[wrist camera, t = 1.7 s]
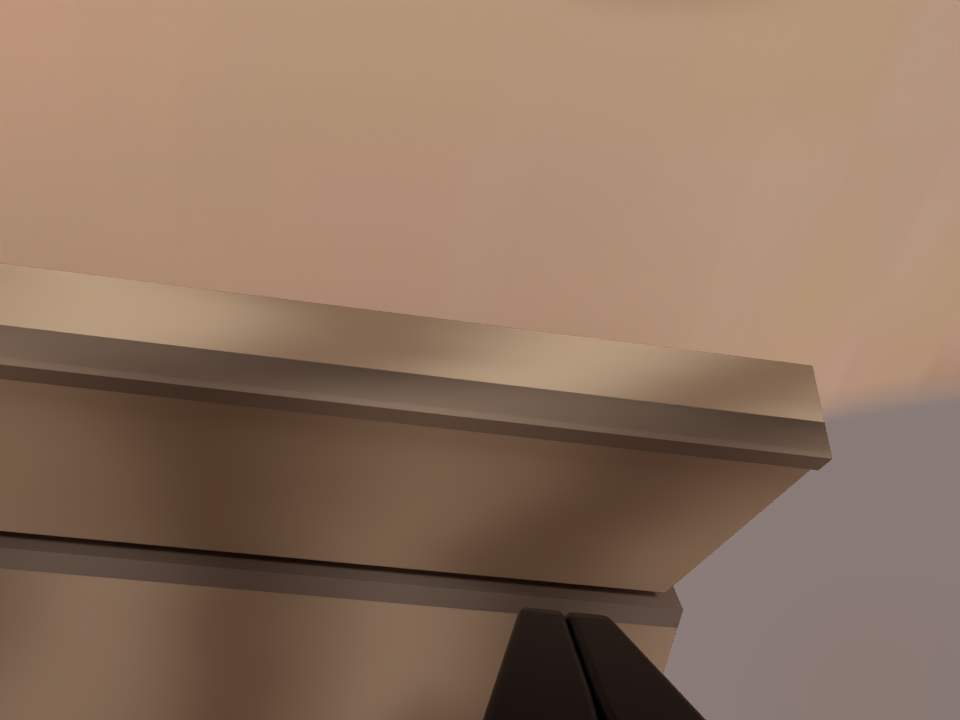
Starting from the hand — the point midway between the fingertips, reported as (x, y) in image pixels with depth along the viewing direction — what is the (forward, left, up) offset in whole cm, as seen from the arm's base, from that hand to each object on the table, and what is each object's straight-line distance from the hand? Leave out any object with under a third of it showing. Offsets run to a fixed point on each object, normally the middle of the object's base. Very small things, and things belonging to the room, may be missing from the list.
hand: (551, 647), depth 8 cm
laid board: (+4, +9, -10) cm, 14 cm away
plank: (+4, +2, -7) cm, 8 cm away
